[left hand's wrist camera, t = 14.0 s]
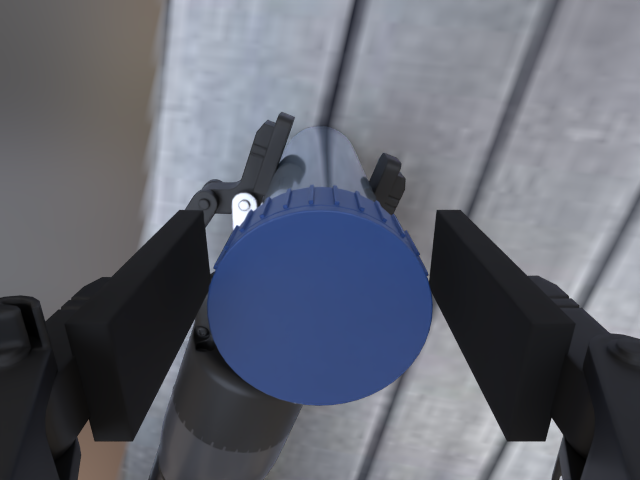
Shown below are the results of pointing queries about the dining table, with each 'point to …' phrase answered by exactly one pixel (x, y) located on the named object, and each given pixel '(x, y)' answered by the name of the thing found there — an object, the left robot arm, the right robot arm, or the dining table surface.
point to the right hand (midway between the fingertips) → (339, 138)
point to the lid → (319, 297)
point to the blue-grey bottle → (319, 164)
